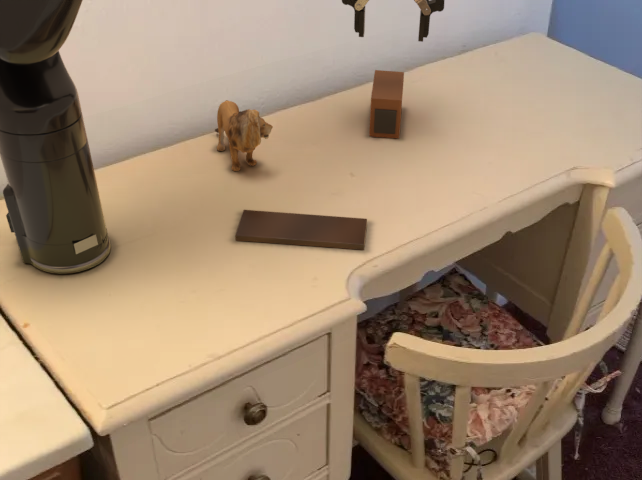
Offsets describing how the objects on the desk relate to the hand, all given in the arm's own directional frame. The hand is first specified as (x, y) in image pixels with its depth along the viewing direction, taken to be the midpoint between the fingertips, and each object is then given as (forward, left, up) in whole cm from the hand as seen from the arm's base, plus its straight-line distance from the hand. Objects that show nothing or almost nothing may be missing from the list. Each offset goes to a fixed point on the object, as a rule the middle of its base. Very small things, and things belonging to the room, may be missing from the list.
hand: (391, 37), depth 120 cm
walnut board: (-9, -32, -13) cm, 36 cm away
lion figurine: (-20, -14, -13) cm, 28 cm away
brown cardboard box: (0, 0, -13) cm, 13 cm away
